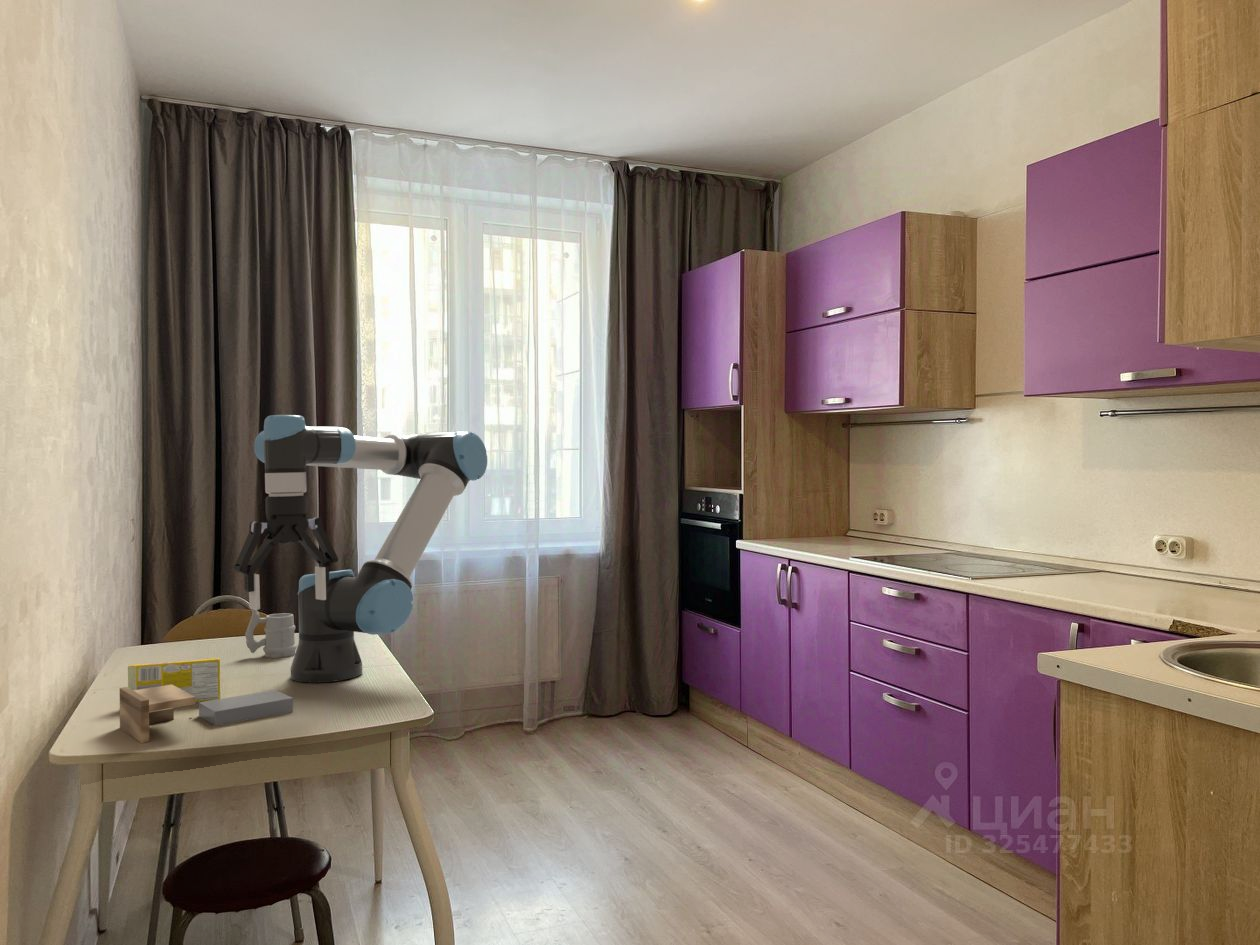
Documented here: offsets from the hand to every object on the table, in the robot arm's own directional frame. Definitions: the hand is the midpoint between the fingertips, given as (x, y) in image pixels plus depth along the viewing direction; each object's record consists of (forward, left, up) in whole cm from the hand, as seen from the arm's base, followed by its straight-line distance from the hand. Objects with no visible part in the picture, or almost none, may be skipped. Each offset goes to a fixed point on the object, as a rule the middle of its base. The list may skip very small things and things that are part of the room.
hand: (288, 604), depth 175 cm
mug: (-16, -50, -20) cm, 56 cm away
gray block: (+9, +1, -20) cm, 22 cm away
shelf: (+24, +1, -20) cm, 31 cm away
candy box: (+16, -17, -20) cm, 30 cm away
